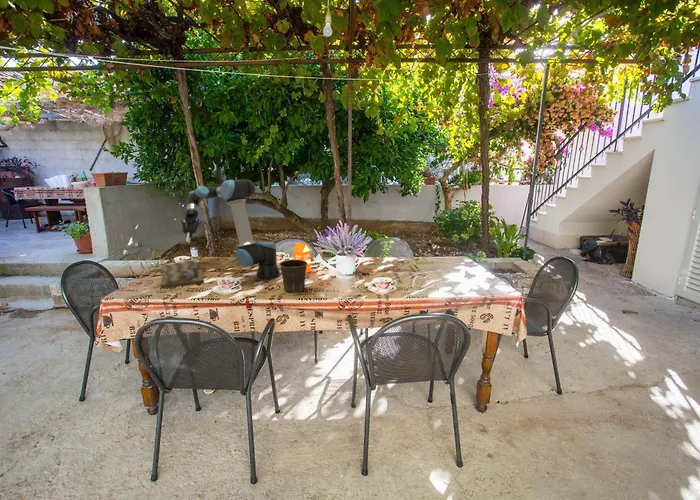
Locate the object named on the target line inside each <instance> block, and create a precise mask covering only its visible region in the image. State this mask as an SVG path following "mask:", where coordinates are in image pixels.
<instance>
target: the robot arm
mask: <svg viewBox="0 0 700 500" xmlns="http://www.w3.org/2000/svg"><path fill="white" fill-rule="evenodd" d="M256 188H257V187H256V185H255V183H254V182H253V181H252V180H250V179H246V178H245V179H227V180H224V181H223V182H222V183H221V185H220V186H212V187H207V186H204V185H199V186H198V187H197V188H196V189H195V190H191V191H189V195H187V197H188V198H187V206H186V213H185V218H184V219H183V220H181V221H180V222H181V224H182V232H183V233H184V234H185V243H187V244H190V243H191V239H192V238H193V234H196V233H197V230H198V228H199V225H200V223H201V220H200V219H199V218H198V217H199V209H200V203H201V202H202V201H203V200H207V199H218V198H219V199H221V198H222V199H223V200H225V201H226V204H227V205H228V206H230V210H231V214H232V218H233V222H234V226H235V230H236V234H237V238H238V243H239V244H238V246H237V250H236V251H235V258H236V261H237V263H238V264H239V265H240V266H241V267H244V268H248V267H253V266H256V265H258V267H257V272H256V278H257V279H260V280H274V279H278V278H279V277H280V276H281V272H280V271H281V270H280V269H279V267H278V262H277V246H276V243H275V242H272V241H257V242H256V241H255V240H254V238H253V233H252V229H251V225H250V221H249V217H248V213H247V212H248V211H247V208H246V205H245V202H246V201H247V198H251V197H253V195H255V192H256Z"/></svg>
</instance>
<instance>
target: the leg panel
mask: <svg viewBox="0 0 700 500" xmlns="http://www.w3.org/2000/svg"><path fill="white" fill-rule="evenodd" d="M163 269H164V273H165V279H166V282H167V283H169V282H173V281H178V280H182V279H183V276H182V275H183V274H186V273H192V277H195V274H194V265H193V259H188V260H182V261H177V262H172V263H166V264H163Z"/></svg>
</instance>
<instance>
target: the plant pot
mask: <svg viewBox="0 0 700 500" xmlns="http://www.w3.org/2000/svg"><path fill="white" fill-rule="evenodd" d="M279 266H280V267H279V268H280V271H281V276H282V283H283V290H284V291H285V292H287V293H299V292H301V291H304V290H305V285H306V284H305V282H306V273H307V272H306V266H307V262H306V261H303V260H294V259H289V260H283V261H280V263H279ZM305 272H306V273H305Z"/></svg>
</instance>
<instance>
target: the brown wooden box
mask: <svg viewBox="0 0 700 500" xmlns="http://www.w3.org/2000/svg"><path fill="white" fill-rule="evenodd" d="M192 260H193V265H194V274H195V277H192V273H186V274H183V275H182V276H183V279H182V280H178V281H173V282H169V283H167V282H166V279H165V272H162V277H161V281H160V289H168V288H176V287H184V286H192V285H193V286H194V285H200V284H205V281H204V275H203V274H204V273H203V268H198V260H197V257H195V258H194V257H193V258H192Z"/></svg>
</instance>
